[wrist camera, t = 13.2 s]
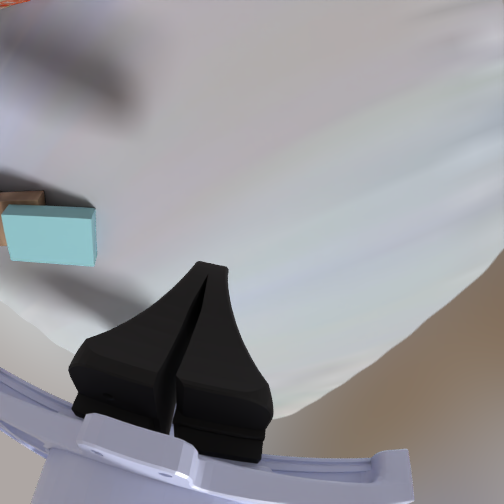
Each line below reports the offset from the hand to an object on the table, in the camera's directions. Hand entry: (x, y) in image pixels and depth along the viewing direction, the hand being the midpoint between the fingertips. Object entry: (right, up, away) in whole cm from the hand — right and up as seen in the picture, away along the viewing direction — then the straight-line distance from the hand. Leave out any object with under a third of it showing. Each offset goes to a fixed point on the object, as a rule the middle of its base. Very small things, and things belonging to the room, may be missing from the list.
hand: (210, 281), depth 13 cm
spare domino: (-12, +3, +11) cm, 17 cm away
